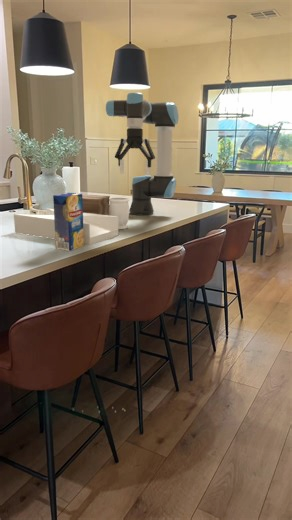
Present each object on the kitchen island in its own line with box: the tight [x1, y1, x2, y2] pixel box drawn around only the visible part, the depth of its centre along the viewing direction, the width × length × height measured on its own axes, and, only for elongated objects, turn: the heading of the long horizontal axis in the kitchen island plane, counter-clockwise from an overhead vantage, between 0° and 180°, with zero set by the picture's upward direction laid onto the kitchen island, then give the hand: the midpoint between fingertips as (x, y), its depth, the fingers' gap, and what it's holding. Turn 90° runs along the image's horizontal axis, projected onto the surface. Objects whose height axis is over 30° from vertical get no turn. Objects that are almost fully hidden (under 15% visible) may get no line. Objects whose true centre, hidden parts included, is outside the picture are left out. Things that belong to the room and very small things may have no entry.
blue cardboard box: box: [52, 192, 85, 252], centre depth 169 cm, size 7×11×22 cm, turn 157°
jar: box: [109, 197, 130, 230], centre depth 210 cm, size 11×10×15 cm
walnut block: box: [82, 194, 111, 216], centre depth 213 cm, size 14×14×15 cm
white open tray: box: [13, 207, 119, 246], centre depth 195 cm, size 45×22×10 cm, turn 60°
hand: (134, 173), depth 200 cm, fingers open, 13 cm apart
